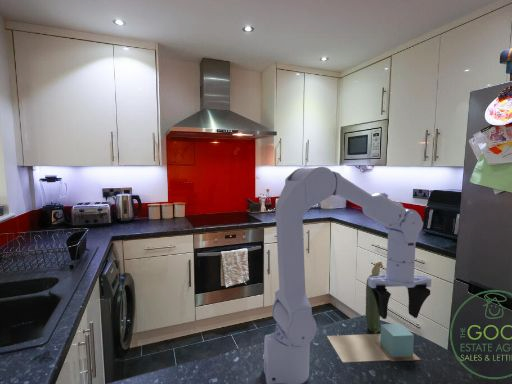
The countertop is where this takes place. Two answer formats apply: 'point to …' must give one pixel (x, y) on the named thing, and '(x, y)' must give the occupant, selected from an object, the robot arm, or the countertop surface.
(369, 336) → the maple board
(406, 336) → the teal block
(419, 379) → the countertop surface
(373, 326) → the vegetable
